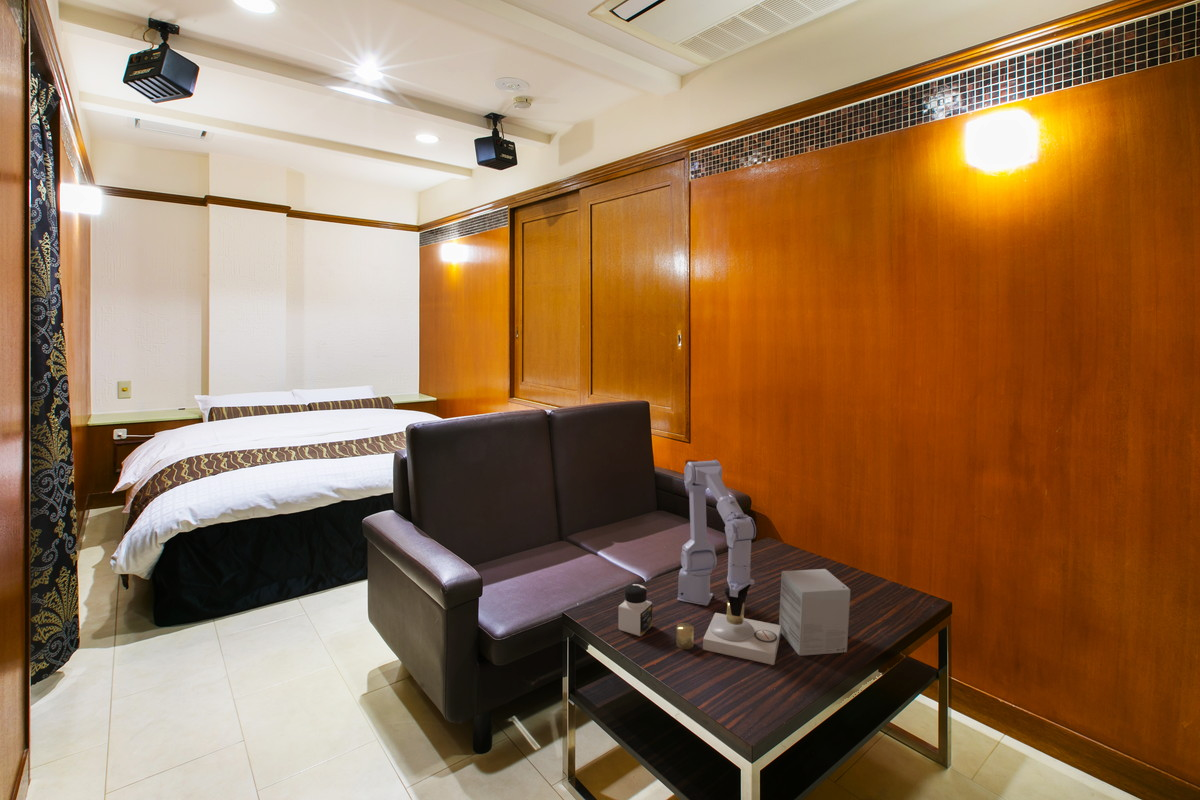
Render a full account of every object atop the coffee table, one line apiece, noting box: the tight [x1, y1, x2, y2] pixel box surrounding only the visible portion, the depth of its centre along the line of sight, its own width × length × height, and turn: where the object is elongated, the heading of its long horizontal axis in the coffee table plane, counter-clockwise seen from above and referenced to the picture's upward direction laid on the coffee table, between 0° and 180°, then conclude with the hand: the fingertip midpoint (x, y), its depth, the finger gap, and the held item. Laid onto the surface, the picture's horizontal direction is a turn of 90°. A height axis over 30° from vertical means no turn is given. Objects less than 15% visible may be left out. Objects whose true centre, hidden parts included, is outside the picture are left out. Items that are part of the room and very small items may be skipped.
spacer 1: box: [675, 622, 695, 650], centre depth 155 cm, size 4×4×5 cm
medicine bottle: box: [618, 583, 653, 637], centre depth 163 cm, size 7×7×12 cm
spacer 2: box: [726, 600, 745, 625], centre depth 157 cm, size 4×4×5 cm
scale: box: [702, 612, 782, 666], centre depth 156 cm, size 18×15×4 cm
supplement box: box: [778, 568, 851, 656], centre depth 156 cm, size 13×13×18 cm
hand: (737, 611), depth 156 cm, fingers closed on spacer 2, 4 cm apart
